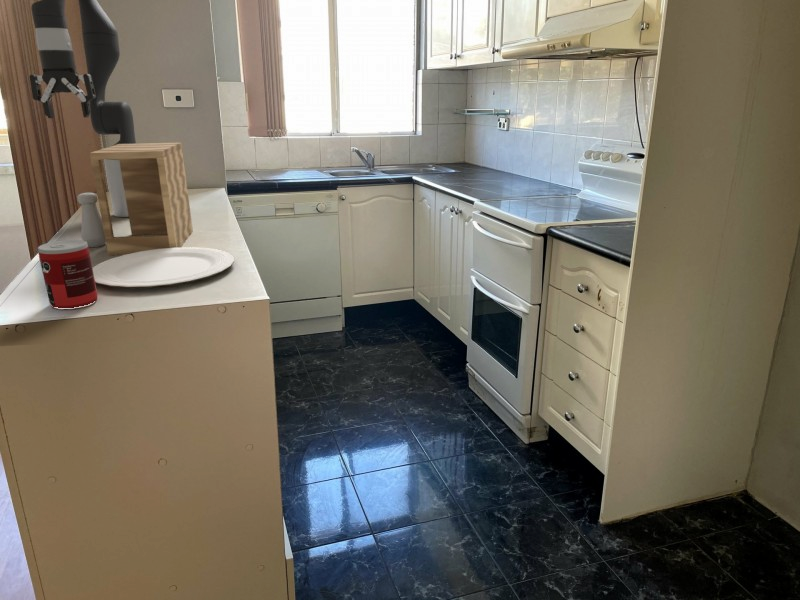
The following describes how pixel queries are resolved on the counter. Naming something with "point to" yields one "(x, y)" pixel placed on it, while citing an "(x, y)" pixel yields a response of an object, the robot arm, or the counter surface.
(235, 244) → the counter surface
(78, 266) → the canned food
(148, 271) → the plate
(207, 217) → the counter surface
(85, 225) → the salt shaker
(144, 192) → the open-side box
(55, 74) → the robot arm
